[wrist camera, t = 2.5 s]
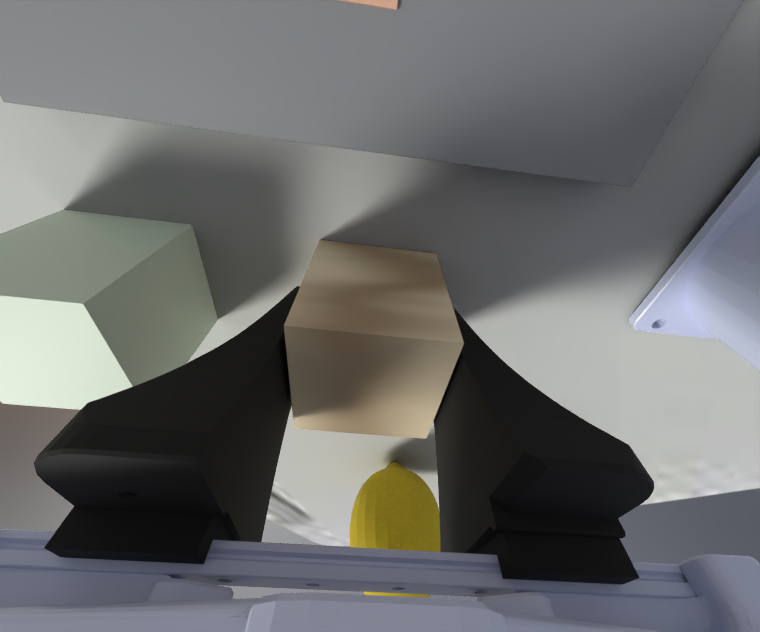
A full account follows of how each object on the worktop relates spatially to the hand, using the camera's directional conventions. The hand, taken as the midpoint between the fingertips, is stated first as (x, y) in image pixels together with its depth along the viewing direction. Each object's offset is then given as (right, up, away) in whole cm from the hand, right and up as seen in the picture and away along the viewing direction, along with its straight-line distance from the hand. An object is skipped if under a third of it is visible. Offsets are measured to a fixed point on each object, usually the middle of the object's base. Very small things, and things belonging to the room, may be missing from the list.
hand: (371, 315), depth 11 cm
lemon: (+1, -10, +10) cm, 14 cm away
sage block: (-9, +2, +1) cm, 9 cm away
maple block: (0, +1, +1) cm, 1 cm away
